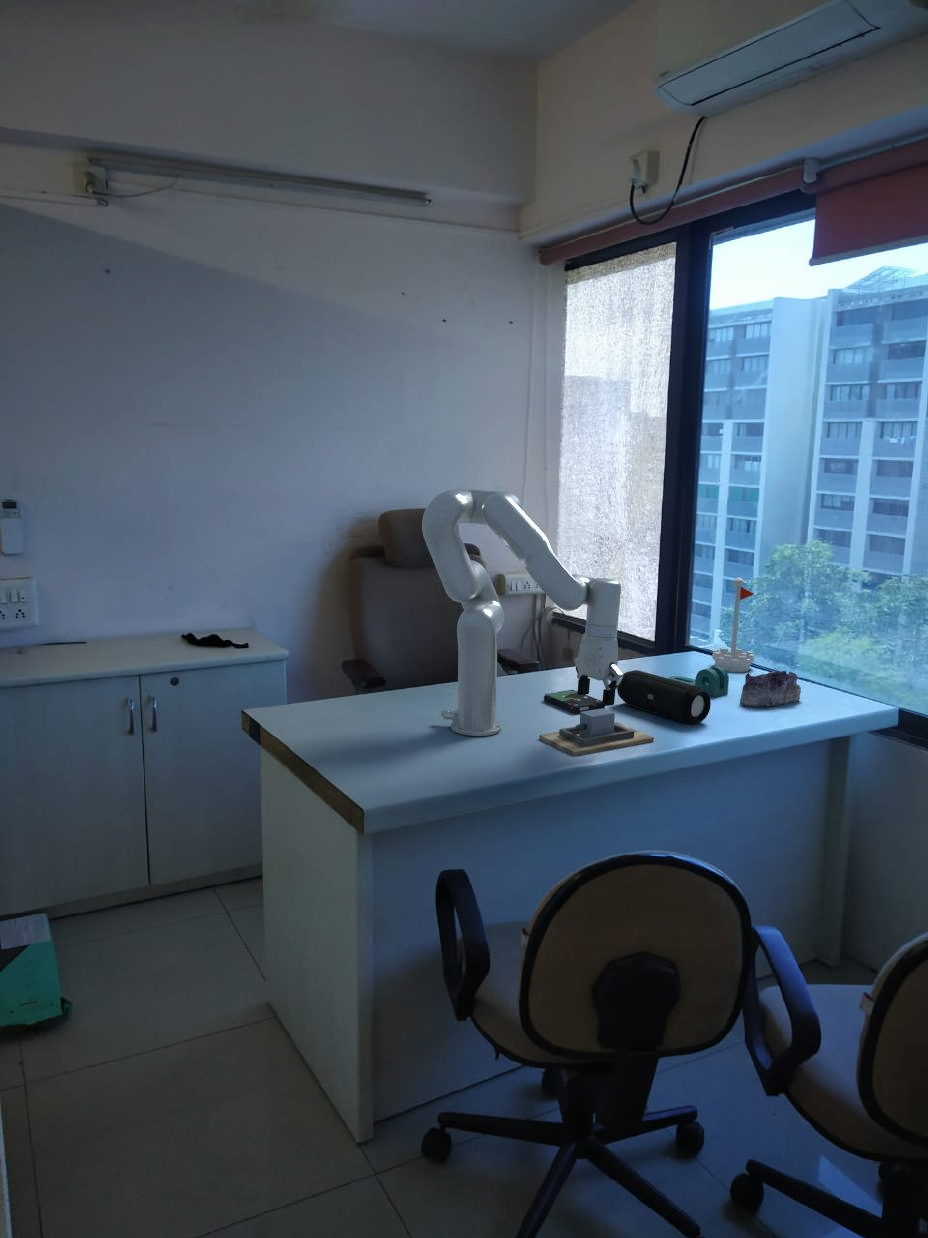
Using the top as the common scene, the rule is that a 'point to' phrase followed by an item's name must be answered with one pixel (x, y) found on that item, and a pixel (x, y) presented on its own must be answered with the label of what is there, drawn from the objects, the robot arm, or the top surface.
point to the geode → (770, 689)
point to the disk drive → (573, 701)
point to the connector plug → (596, 723)
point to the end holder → (595, 740)
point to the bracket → (709, 681)
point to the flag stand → (735, 640)
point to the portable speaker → (664, 696)
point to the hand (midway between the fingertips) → (595, 699)
